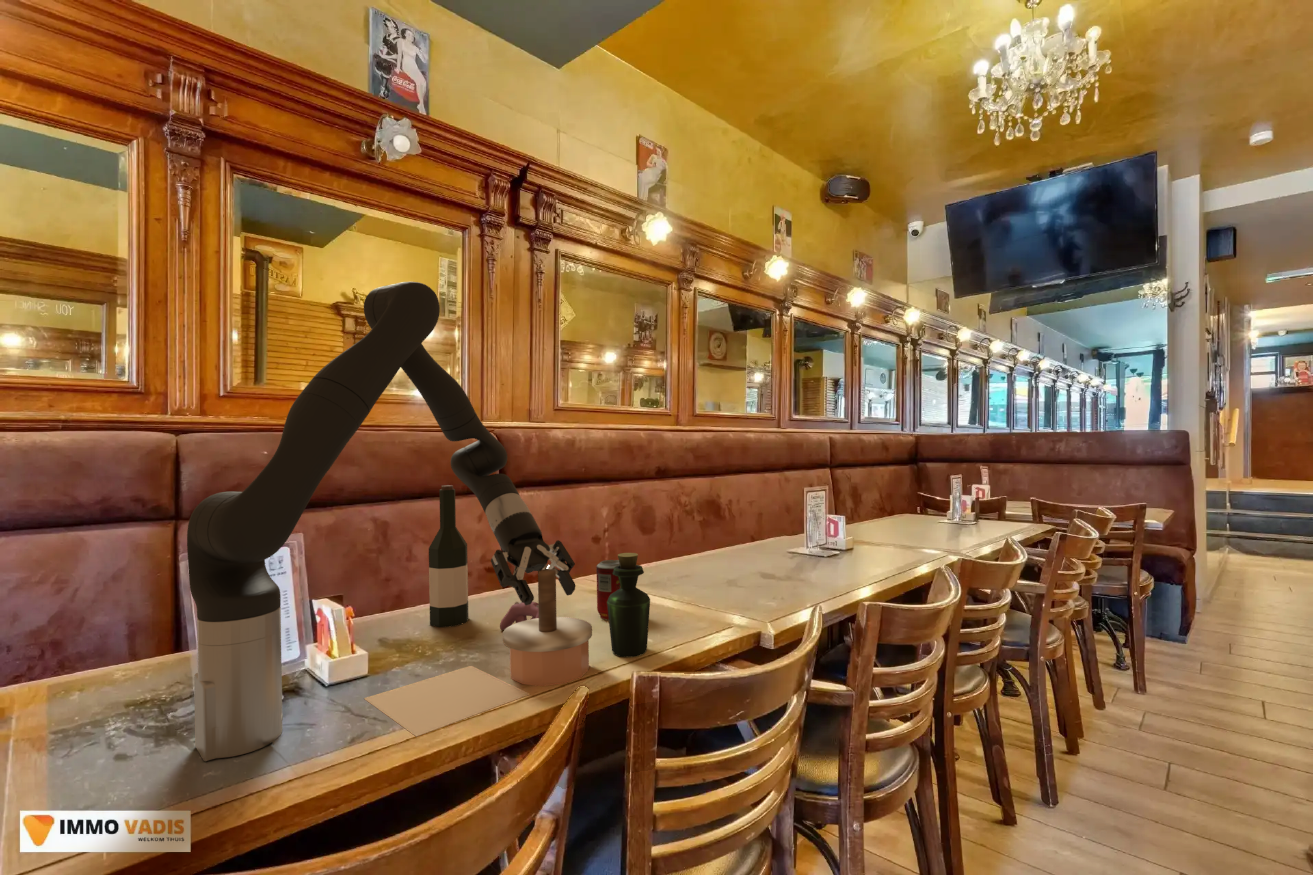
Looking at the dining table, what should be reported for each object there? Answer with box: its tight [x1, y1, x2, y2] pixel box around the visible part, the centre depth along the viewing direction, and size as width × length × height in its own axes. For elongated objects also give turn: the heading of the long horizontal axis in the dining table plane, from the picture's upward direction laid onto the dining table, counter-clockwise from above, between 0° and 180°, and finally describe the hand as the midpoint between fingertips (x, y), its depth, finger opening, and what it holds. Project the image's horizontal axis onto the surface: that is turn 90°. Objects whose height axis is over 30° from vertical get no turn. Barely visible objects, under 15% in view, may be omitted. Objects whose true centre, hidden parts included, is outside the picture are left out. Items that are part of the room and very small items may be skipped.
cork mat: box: [363, 665, 531, 738], centre depth 94 cm, size 18×18×1 cm
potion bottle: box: [607, 552, 651, 658], centre depth 113 cm, size 8×8×18 cm
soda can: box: [595, 559, 621, 621], centre depth 136 cm, size 7×7×12 cm
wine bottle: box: [428, 484, 469, 628], centre depth 134 cm, size 8×8×30 cm
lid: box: [502, 569, 593, 652], centre depth 104 cm, size 15×15×11 cm
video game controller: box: [499, 601, 539, 631], centre depth 128 cm, size 10×5×7 cm, turn 60°
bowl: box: [508, 639, 590, 687], centre depth 104 cm, size 13×13×6 cm
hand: (551, 597), depth 103 cm, fingers open, 8 cm apart
